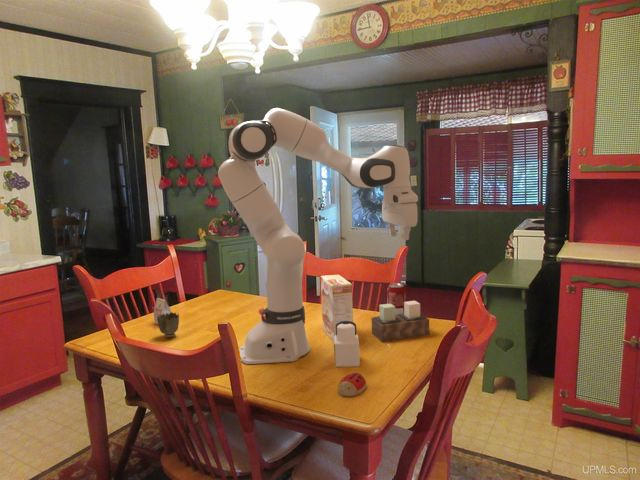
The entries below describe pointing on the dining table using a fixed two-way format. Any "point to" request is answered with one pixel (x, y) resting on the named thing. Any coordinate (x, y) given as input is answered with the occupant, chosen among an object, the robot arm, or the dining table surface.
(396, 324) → the walnut block
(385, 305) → the peg near sage
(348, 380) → the ladybug figurine
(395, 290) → the soda can
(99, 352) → the dining table surface
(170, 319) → the cup
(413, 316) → the peg far cream
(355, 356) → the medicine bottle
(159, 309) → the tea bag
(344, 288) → the coffeecake box
